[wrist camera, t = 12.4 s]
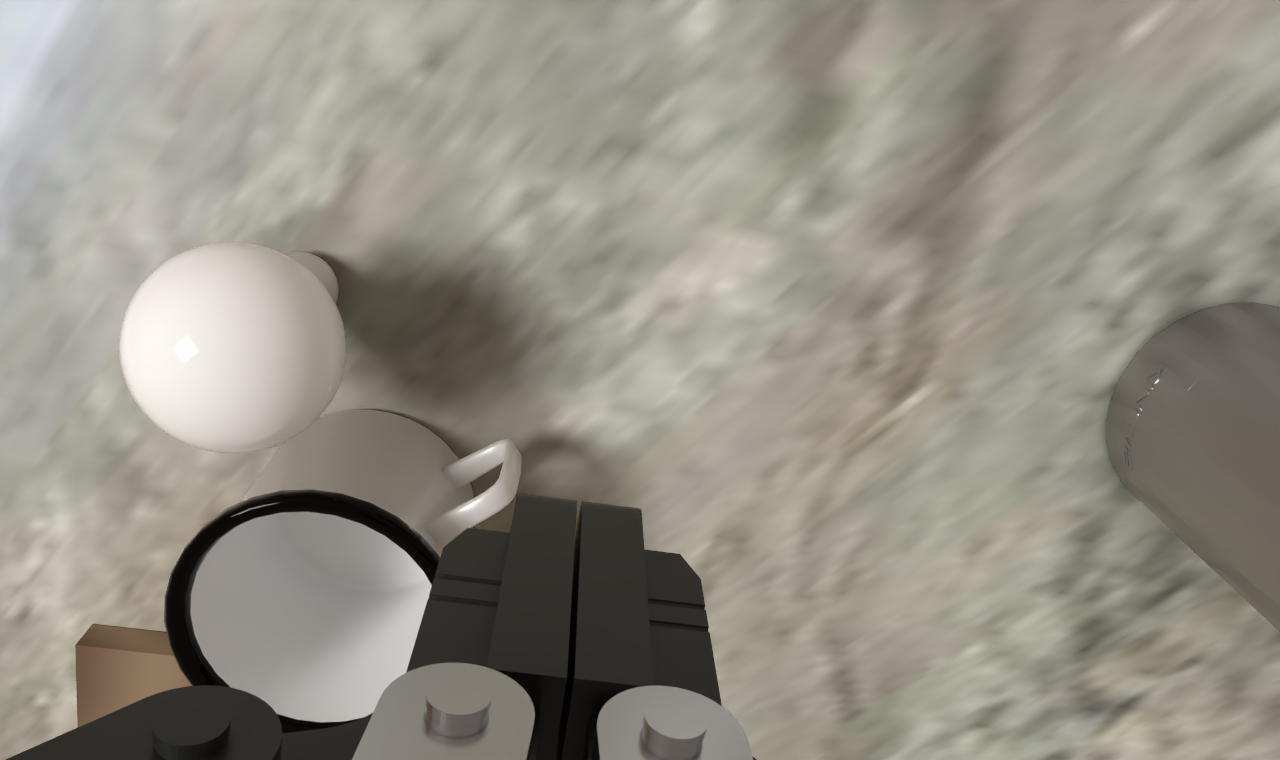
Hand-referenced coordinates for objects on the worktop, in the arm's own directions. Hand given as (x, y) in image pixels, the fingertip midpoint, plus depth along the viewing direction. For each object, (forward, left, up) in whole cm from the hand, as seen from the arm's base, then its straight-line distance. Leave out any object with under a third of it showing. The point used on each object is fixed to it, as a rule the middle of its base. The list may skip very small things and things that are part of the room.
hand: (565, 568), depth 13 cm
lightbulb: (+10, +5, -27) cm, 29 cm away
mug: (+6, +13, -27) cm, 31 cm away
